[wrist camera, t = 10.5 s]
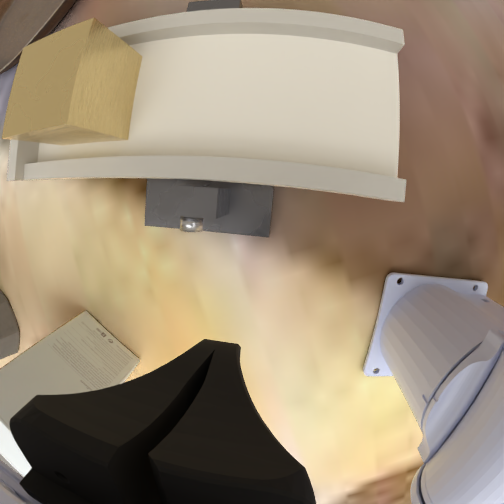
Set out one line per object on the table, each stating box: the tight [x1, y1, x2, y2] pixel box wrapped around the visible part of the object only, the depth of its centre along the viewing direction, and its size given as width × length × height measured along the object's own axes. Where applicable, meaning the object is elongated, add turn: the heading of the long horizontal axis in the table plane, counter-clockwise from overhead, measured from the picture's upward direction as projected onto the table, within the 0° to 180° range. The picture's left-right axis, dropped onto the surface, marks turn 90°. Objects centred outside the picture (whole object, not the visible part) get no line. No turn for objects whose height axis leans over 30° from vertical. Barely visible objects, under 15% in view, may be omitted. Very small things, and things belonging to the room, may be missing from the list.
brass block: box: [2, 18, 142, 146], centre depth 11 cm, size 5×5×5 cm
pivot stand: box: [145, 0, 274, 237], centre depth 15 cm, size 8×15×4 cm, turn 175°
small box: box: [0, 311, 140, 477], centre depth 16 cm, size 8×6×13 cm
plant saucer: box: [0, 0, 76, 74], centre depth 14 cm, size 21×21×3 cm
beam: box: [7, 8, 406, 202], centre depth 12 cm, size 22×9×3 cm, turn 85°
